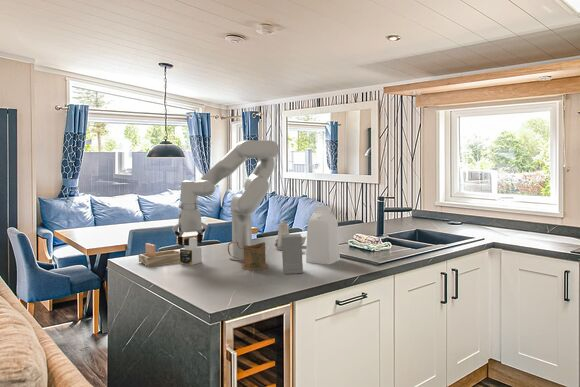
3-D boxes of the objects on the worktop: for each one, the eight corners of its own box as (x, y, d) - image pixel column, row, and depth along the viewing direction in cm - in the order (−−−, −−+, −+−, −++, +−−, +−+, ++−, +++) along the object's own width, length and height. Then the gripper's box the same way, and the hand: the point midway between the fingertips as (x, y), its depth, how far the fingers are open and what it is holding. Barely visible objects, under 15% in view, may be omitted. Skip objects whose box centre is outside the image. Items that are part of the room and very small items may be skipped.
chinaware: (300, 257, 229) (303, 224, 228) (268, 253, 231) (271, 221, 230) (306, 247, 257) (308, 219, 256) (277, 244, 259) (280, 216, 258)
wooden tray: (185, 261, 214) (185, 252, 213) (148, 266, 202) (148, 257, 202) (174, 257, 223) (174, 249, 223) (138, 262, 212) (138, 254, 211)
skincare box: (302, 270, 189) (301, 233, 189) (303, 274, 182) (302, 235, 181) (282, 270, 189) (281, 233, 188) (282, 274, 182) (281, 236, 181)
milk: (340, 259, 211) (339, 205, 210) (329, 264, 201) (328, 206, 200) (317, 257, 217) (316, 204, 216) (306, 262, 207) (305, 206, 206)
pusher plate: (155, 262, 206) (155, 245, 206) (153, 262, 205) (152, 245, 205) (148, 259, 213) (147, 243, 213) (145, 260, 212) (145, 243, 212)
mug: (225, 266, 199) (224, 240, 199) (263, 263, 205) (262, 237, 205) (231, 272, 188) (230, 243, 188) (271, 268, 194) (270, 241, 194)
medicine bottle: (179, 263, 207) (179, 238, 207) (190, 261, 214) (189, 236, 213) (192, 265, 204) (191, 239, 204) (201, 262, 210) (201, 237, 210)
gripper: (175, 208, 199) (176, 246, 200) (209, 206, 210) (210, 242, 211) (168, 207, 205) (169, 245, 206) (202, 206, 216) (203, 241, 217)
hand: (190, 243), depth 208 cm, fingers open, 9 cm apart
